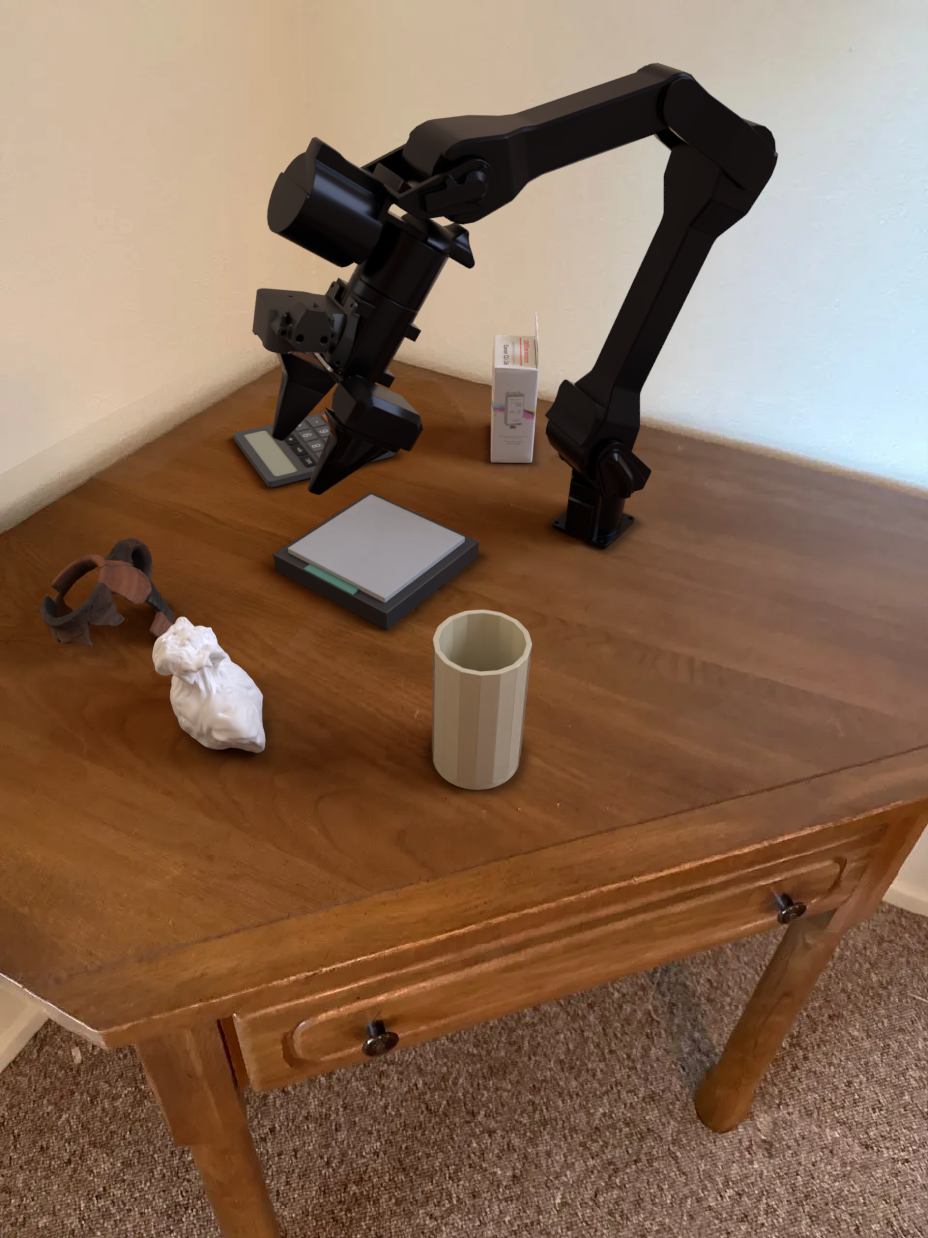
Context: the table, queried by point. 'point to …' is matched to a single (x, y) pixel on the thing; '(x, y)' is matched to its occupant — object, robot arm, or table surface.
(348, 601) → the scale
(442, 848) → the table surface
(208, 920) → the table surface
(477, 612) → the cup
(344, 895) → the table surface
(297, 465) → the calculator
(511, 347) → the ink cartridge box
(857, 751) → the table surface
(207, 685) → the white tied bag
